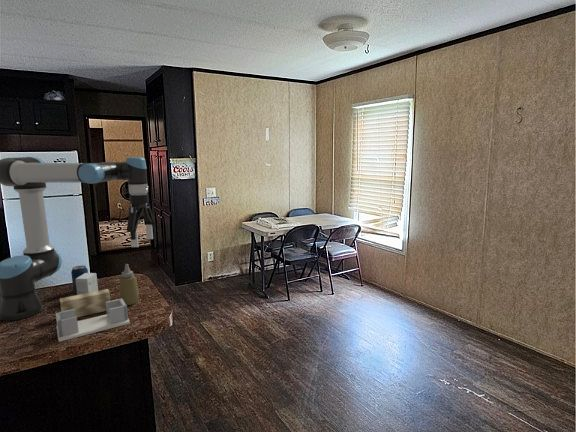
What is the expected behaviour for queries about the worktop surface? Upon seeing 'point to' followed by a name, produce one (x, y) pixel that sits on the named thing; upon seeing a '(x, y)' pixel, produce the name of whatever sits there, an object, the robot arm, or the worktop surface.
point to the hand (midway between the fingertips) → (142, 242)
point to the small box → (86, 283)
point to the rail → (86, 302)
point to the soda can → (77, 274)
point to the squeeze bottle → (128, 287)
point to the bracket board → (91, 321)
